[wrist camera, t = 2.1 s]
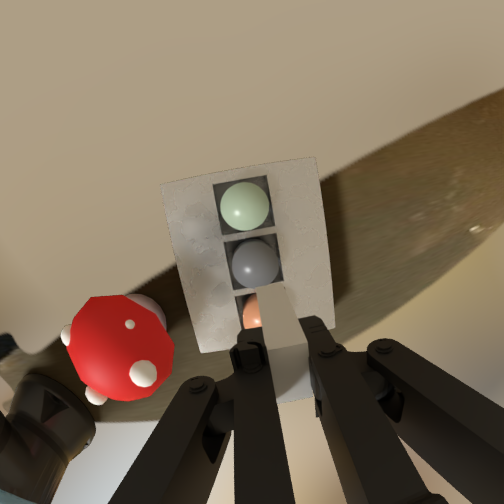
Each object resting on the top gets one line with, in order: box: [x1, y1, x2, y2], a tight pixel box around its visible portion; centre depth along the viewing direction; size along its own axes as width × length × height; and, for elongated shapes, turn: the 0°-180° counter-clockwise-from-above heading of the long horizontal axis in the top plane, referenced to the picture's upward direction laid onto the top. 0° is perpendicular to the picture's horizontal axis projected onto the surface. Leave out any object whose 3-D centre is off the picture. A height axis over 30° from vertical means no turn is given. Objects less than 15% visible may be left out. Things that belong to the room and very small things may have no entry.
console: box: [160, 157, 335, 353], centre depth 28 cm, size 14×17×4 cm
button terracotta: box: [243, 293, 262, 329], centre depth 27 cm, size 4×4×2 cm
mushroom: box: [60, 294, 174, 405], centre depth 25 cm, size 11×11×12 cm
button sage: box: [220, 182, 269, 231], centre depth 25 cm, size 4×4×2 cm
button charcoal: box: [232, 239, 279, 289], centre depth 26 cm, size 4×4×2 cm
